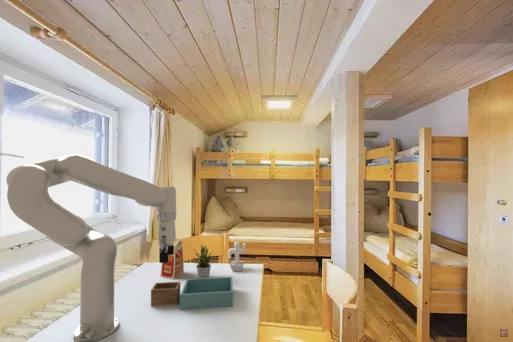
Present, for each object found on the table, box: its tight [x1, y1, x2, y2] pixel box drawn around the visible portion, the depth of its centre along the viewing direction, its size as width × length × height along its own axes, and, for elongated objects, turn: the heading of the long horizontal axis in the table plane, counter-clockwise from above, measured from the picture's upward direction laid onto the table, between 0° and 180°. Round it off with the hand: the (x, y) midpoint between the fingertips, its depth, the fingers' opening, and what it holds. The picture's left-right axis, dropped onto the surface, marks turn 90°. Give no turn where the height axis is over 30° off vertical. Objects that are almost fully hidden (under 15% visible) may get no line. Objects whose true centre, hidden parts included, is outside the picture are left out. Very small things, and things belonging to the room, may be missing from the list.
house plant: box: [190, 244, 214, 279], centre depth 126 cm, size 14×14×16 cm
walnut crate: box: [150, 281, 181, 307], centre depth 102 cm, size 7×10×6 cm, turn 97°
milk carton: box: [159, 237, 185, 280], centre depth 129 cm, size 9×9×20 cm
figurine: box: [227, 241, 247, 272], centre depth 136 cm, size 7×9×15 cm
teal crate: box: [179, 276, 234, 311], centre depth 104 cm, size 15×20×6 cm
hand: (166, 258), depth 102 cm, fingers open, 9 cm apart
